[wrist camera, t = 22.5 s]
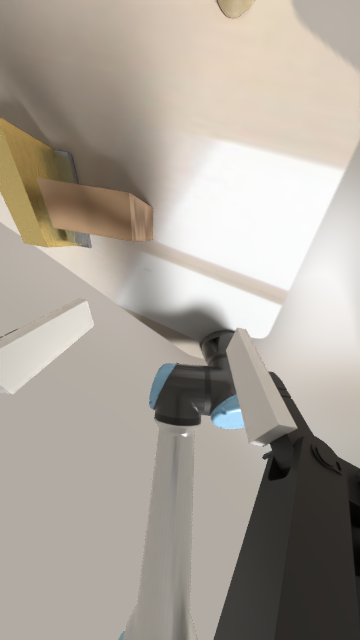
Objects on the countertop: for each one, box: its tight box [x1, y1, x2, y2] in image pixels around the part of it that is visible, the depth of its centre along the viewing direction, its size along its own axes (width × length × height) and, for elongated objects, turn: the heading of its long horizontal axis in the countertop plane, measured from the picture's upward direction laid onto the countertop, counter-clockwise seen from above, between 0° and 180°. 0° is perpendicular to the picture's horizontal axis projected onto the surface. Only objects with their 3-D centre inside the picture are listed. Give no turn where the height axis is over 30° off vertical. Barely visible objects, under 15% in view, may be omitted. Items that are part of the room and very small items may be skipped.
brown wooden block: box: [37, 178, 153, 241], centre depth 25 cm, size 6×14×12 cm, turn 82°
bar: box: [0, 117, 78, 247], centre depth 25 cm, size 16×5×8 cm, turn 172°
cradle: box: [53, 150, 92, 248], centre depth 28 cm, size 16×11×4 cm
